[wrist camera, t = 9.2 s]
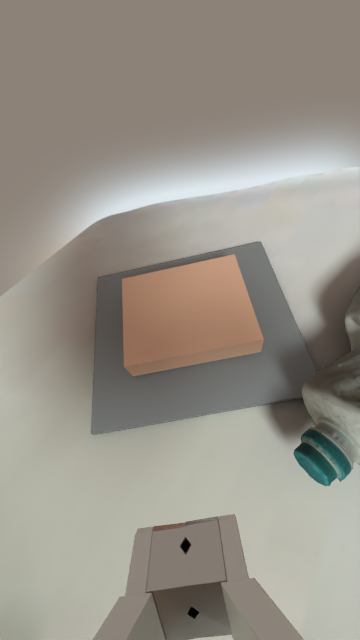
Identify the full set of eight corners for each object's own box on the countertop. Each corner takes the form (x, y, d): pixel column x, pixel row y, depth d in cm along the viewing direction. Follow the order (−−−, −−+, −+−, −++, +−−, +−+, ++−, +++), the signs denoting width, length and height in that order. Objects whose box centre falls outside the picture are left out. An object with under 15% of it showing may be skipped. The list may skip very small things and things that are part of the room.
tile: (123, 366, 23) (121, 278, 28) (133, 377, 25) (130, 293, 30) (263, 339, 22) (234, 254, 27) (260, 352, 24) (234, 271, 30)
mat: (94, 434, 24) (91, 433, 23) (99, 280, 33) (97, 277, 33) (323, 394, 22) (325, 392, 22) (260, 245, 32) (260, 241, 31)
